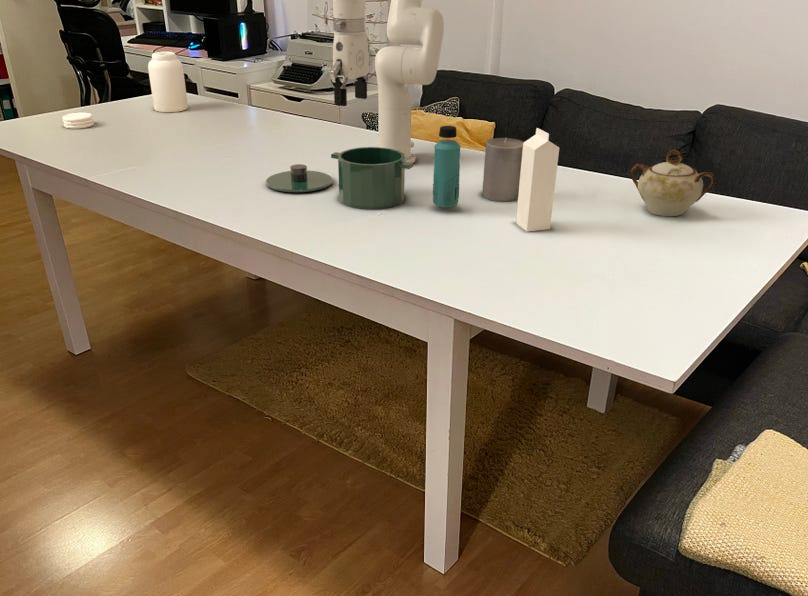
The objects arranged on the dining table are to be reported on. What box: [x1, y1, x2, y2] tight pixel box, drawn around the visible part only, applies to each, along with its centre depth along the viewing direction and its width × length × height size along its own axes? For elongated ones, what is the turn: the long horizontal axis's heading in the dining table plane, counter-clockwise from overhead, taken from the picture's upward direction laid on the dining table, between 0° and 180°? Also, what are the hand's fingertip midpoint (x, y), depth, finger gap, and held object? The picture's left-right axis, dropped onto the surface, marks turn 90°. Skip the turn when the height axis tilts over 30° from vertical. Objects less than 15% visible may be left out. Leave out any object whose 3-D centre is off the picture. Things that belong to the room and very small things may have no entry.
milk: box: [515, 127, 560, 233], centre depth 169 cm, size 6×6×22 cm
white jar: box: [147, 51, 189, 113], centre depth 277 cm, size 12×12×20 cm
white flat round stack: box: [61, 112, 95, 130], centre depth 259 cm, size 10×10×4 cm
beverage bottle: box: [432, 125, 461, 208], centre depth 180 cm, size 6×7×20 cm
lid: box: [265, 163, 333, 193], centre depth 201 cm, size 18×18×5 cm
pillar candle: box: [481, 136, 525, 202], centre depth 190 cm, size 10×10×15 cm
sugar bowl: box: [629, 149, 716, 217], centre depth 180 cm, size 20×15×15 cm
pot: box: [330, 146, 414, 210], centre depth 189 cm, size 17×22×11 cm
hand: (351, 101), depth 184 cm, fingers open, 9 cm apart
